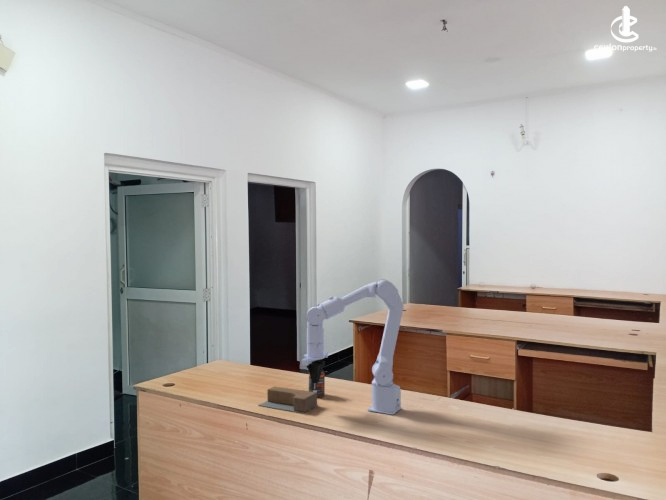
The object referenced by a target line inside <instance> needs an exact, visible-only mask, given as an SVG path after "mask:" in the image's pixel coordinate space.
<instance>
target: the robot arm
mask: <svg viewBox="0 0 666 500" xmlns="http://www.w3.org/2000/svg"><path fill="white" fill-rule="evenodd" d="M377 297H378V298H379V299H381V300H382V301H383V303H384V304H385V306H386V307H387V308H388V309H387V314H386V320H385V325H384V328H383V334H382V338H381V342H380V343H381V344H380V347H379V352H378V354H377V358H376V361H375V363H374V364H373V365H372V367H371V372H372V373H371V374H372V375H373V379H372V381H371V406H370V407H368V408H367V410H366V411H368V412H374V413H381V414H387V415H395V414H396V413H397V412H400V410H401V409H402V406H401V405H402V404H401V403H402V402H401V401H402V400H401V393H402V391H401V387H400V386H399V385H397V384H395V383H394V381H393V380H394V372H393V365H394V355H395V350H396V345H397V341H398V337H399V336H398V335H399V331H400V325H401V320H402V317H403V312H404V303H403V301H402V298H401V295H400V294H399V289H398V288H397V287H396V285H394V283H392V282H391V281H389V280H387V279H385V278H382V279H381V278H380V279H378V280H376V281H373V282H370V283H367V284H365V285H363V286H361V287H360V288H357V289H355V290H353V291H352V292H350V293H348V294H346V295H345V296H342V297H339V296H337V295H336V296H332V295H331V296H329V297H328V299H327V300H325V301H323V302H321V303H319V302H318V303H317V304H316V306H311V307H310V308H309V309H308V310H307V312H306V317H305V318H306V321H307V323H306V327H307V328H306V354H303V357H304V358H302V359H301V366H304V367H306V368H307V371H308V374H309V373H310V377H311V381H312V383H319V380H320V375H321V372H322V370H323V368H324V366H325V365H326V361H325V360H323V359H326V358H328V357H329V351H325V350H324V346H325V345H324V341H325V338H324V337H325V335H324V328H323V325H324V324H323V322H324V320H329V319H330V318H333V317H335V316H337V315H339V314H342V313H343V312H344V310H345V307H346V306H349V305H351V304H353V303H356V302H358V301H360V300H362V299H365V298H375V299H376V298H377Z"/></svg>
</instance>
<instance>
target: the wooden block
mask: <svg viewBox="0 0 666 500" xmlns="http://www.w3.org/2000/svg"><path fill="white" fill-rule="evenodd" d="M266 391H267V401H269V402H275V403H281V404H288V405H293V406H294V410H295V411H301V412H305V413H307V412H308V411H310V410H311V408H312V407H314V406H315V407H317V406H318V405H317V404H318V397H317V392H311V391H309V390H303V389H295V388H288V387H281V386H272V387H269V388H268V389H267V390H266ZM316 405H317V406H316ZM315 407H314V408H315ZM309 409H310V410H309ZM312 409H313V408H312ZM307 410H308V411H307ZM306 411H307V412H306Z"/></svg>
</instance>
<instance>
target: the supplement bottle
mask: <svg viewBox="0 0 666 500" xmlns="http://www.w3.org/2000/svg"><path fill="white" fill-rule="evenodd" d="M325 374H326V373H325V371H324V370H323V369H322V372H321V375H320V380H319V383H312V381H311V377H310V373H309V372H308V391H311V392H317V398H323V396H325V393H326V392H325V391H326V390H325V389H326V388H325V383H326V382H325Z"/></svg>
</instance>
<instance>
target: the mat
mask: <svg viewBox="0 0 666 500" xmlns="http://www.w3.org/2000/svg"><path fill="white" fill-rule="evenodd" d="M258 407H263V408H268V409H269V408H270V409H275V410H279V411H286V412H292V413H298V414H305V413H307V412H308V411H310V410H311V409H313V408H315V407H318V403H317V405H316V406H314V407H312V408H311V409H309V410H307V411H306V412H301V411H295V410H294V406H293V405H288V404H281V403H275V402H269V401H268V400H266V401H264V402H263V403H259V404H258Z"/></svg>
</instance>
